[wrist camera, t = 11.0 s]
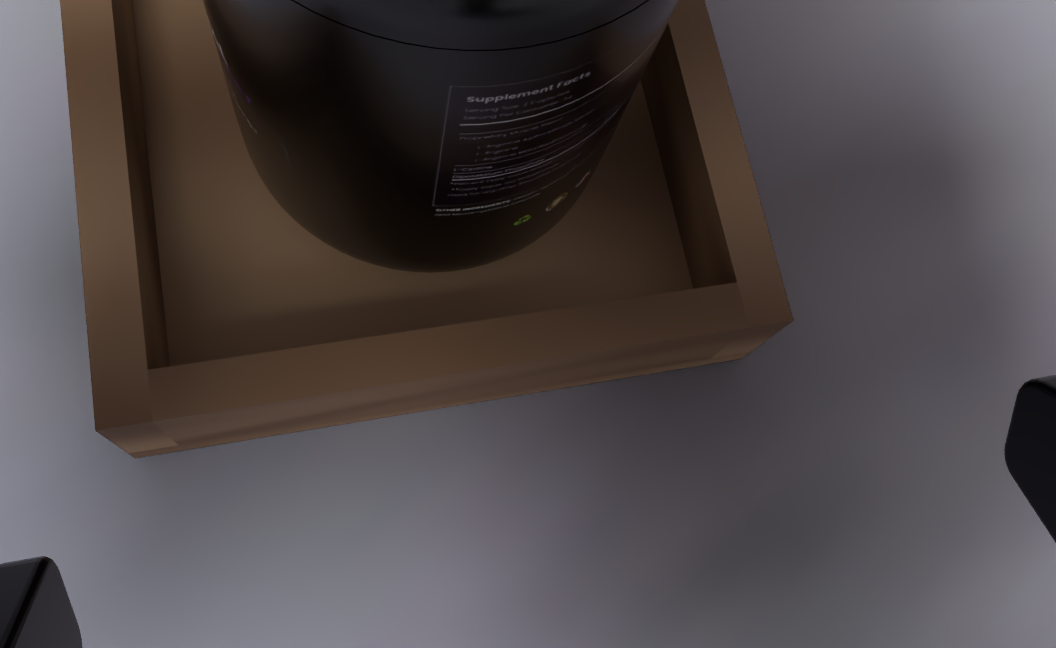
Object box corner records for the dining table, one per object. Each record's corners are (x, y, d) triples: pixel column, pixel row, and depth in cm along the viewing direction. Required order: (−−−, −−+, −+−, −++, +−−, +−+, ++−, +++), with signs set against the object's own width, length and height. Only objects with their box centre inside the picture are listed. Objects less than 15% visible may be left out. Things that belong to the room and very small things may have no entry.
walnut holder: (741, 358, 19) (793, 320, 17) (135, 457, 17) (95, 430, 15) (616, -122, 22) (644, -213, 20) (84, -89, 20) (45, -186, 17)
